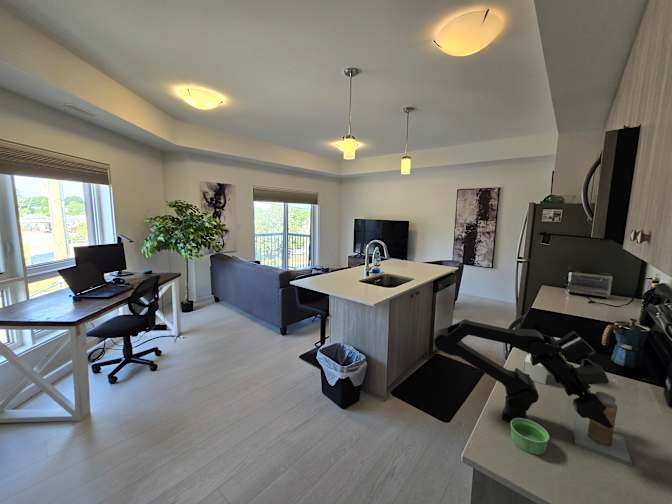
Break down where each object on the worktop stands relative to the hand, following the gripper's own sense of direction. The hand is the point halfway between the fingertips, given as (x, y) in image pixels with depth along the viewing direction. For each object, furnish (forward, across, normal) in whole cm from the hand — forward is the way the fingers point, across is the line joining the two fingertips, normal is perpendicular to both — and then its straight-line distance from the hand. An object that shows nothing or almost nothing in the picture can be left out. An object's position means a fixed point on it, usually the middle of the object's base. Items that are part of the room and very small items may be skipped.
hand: (603, 416), depth 78 cm
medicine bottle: (-2, +30, +13) cm, 33 cm away
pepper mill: (+5, 0, +5) cm, 7 cm away
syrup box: (+4, +37, +8) cm, 38 cm away
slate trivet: (+6, 0, +6) cm, 8 cm away
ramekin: (-7, -10, +19) cm, 22 cm away
